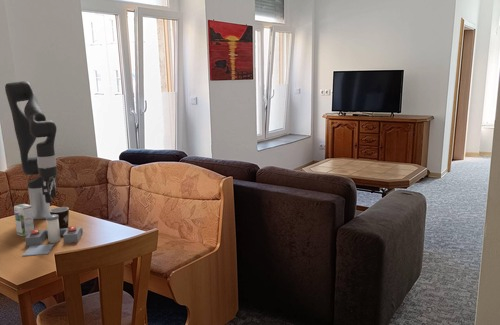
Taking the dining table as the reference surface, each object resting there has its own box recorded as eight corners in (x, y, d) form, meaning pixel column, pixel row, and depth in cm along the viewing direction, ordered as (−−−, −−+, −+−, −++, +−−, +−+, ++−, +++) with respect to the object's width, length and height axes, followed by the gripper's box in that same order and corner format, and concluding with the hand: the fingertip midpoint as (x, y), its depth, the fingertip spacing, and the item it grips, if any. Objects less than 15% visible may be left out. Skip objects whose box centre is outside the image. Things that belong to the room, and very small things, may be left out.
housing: (34, 236, 188) (33, 228, 187) (82, 232, 192) (82, 225, 192) (26, 246, 177) (25, 237, 176) (77, 241, 181) (77, 233, 181)
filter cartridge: (50, 238, 185) (47, 214, 183) (62, 237, 186) (59, 214, 184) (46, 243, 180) (43, 218, 177) (59, 242, 181) (56, 217, 179)
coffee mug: (65, 224, 204) (63, 205, 202) (73, 227, 199) (71, 209, 197) (42, 230, 195) (40, 211, 193) (50, 234, 190) (48, 215, 188)
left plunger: (32, 238, 183) (31, 229, 182) (41, 237, 183) (40, 228, 182) (30, 241, 179) (29, 232, 178) (38, 240, 180) (37, 231, 179)
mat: (30, 246, 176) (30, 245, 176) (54, 244, 179) (54, 243, 178) (22, 256, 167) (22, 255, 167) (47, 254, 169) (47, 253, 169)
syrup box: (16, 234, 190) (12, 206, 187) (28, 230, 195) (24, 203, 192) (23, 237, 187) (20, 208, 184) (35, 232, 193) (31, 204, 190)
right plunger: (69, 235, 186) (68, 226, 185) (77, 234, 186) (76, 226, 186) (67, 238, 182) (66, 229, 181) (75, 237, 183) (75, 228, 182)
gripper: (42, 162, 182) (46, 195, 185) (33, 169, 168) (37, 205, 172) (60, 161, 183) (63, 194, 187) (52, 168, 170) (56, 204, 173)
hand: (51, 199), depth 179 cm, fingers open, 8 cm apart
